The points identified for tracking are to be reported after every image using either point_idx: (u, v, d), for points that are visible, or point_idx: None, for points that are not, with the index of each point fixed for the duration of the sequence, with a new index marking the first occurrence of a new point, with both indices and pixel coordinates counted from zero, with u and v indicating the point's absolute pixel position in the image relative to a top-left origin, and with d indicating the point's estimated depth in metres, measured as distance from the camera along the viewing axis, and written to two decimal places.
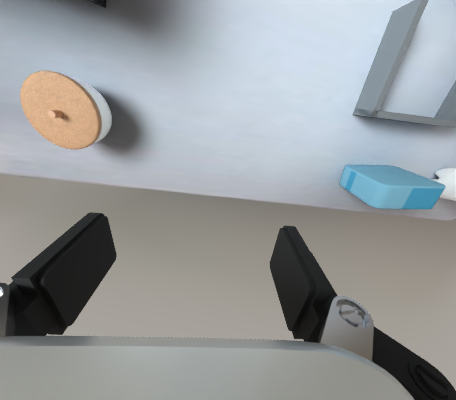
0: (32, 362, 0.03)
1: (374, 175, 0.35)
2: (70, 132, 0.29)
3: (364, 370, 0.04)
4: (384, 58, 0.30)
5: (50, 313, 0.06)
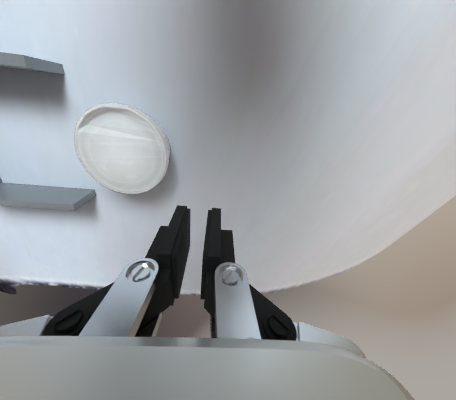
0: (32, 362, 0.03)
1: None
2: None
3: (364, 370, 0.04)
4: None
5: (171, 286, 0.08)
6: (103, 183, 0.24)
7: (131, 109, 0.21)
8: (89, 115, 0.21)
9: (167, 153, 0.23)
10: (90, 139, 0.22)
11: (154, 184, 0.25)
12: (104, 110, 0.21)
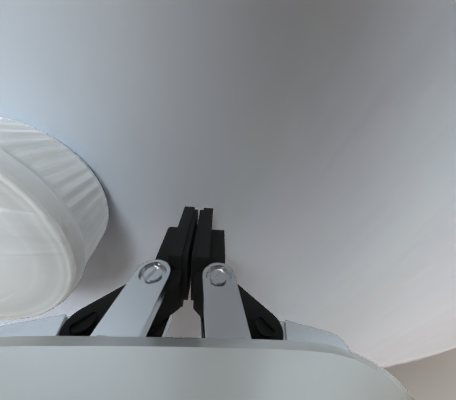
0: (32, 363, 0.03)
1: None
2: None
3: (364, 370, 0.04)
4: None
5: (182, 287, 0.08)
6: None
7: None
8: None
9: (70, 239, 0.08)
10: None
11: (53, 303, 0.10)
12: None
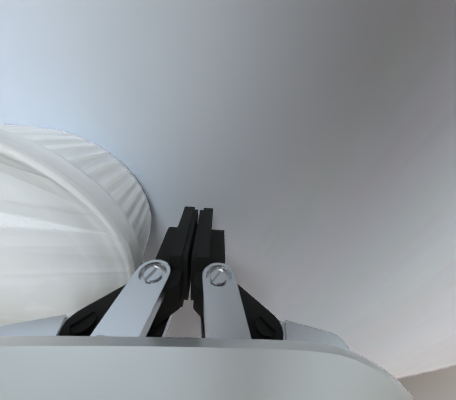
0: (32, 362, 0.03)
1: None
2: None
3: (364, 370, 0.04)
4: None
5: (181, 287, 0.08)
6: None
7: None
8: None
9: (134, 257, 0.08)
10: None
11: None
12: None
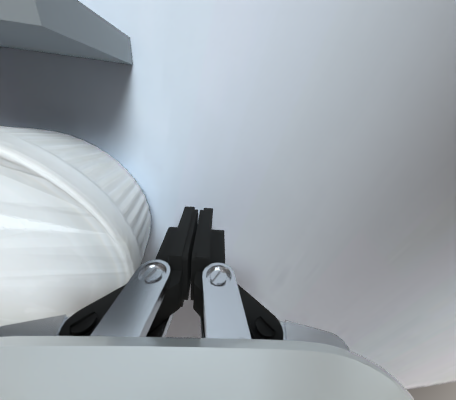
0: (32, 362, 0.03)
1: None
2: None
3: (364, 370, 0.04)
4: None
5: (181, 287, 0.08)
6: None
7: None
8: None
9: (133, 257, 0.08)
10: None
11: None
12: None
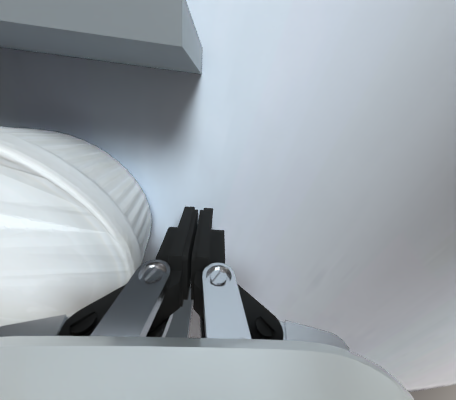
0: (32, 362, 0.03)
1: None
2: None
3: (364, 370, 0.04)
4: None
5: (181, 287, 0.08)
6: None
7: None
8: None
9: (134, 256, 0.08)
10: None
11: None
12: None
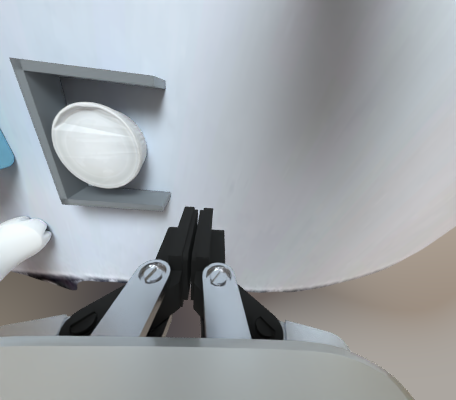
0: (32, 362, 0.03)
1: None
2: None
3: (364, 370, 0.04)
4: None
5: (181, 287, 0.08)
6: (82, 178, 0.26)
7: (102, 107, 0.22)
8: (64, 114, 0.22)
9: (140, 148, 0.25)
10: (66, 136, 0.23)
11: (130, 178, 0.26)
12: (78, 109, 0.23)
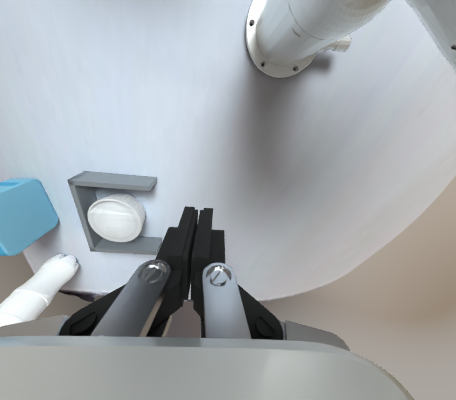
0: (32, 362, 0.03)
1: (10, 200, 0.34)
2: None
3: (364, 370, 0.04)
4: (120, 178, 0.38)
5: (182, 287, 0.08)
6: (104, 237, 0.41)
7: (119, 201, 0.37)
8: (95, 204, 0.38)
9: (141, 220, 0.40)
10: (96, 215, 0.38)
11: (135, 236, 0.41)
12: (104, 201, 0.38)
